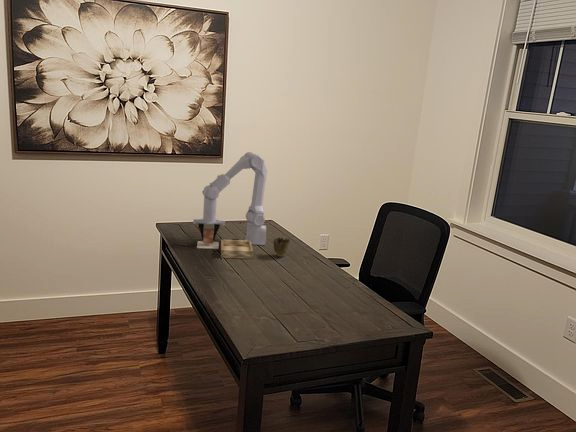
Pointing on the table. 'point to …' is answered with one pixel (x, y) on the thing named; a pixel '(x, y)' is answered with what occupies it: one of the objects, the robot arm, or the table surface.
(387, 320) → the table surface
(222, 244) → the organiser box
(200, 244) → the grey mat
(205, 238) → the terracotta block
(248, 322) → the table surface
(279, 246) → the cup
